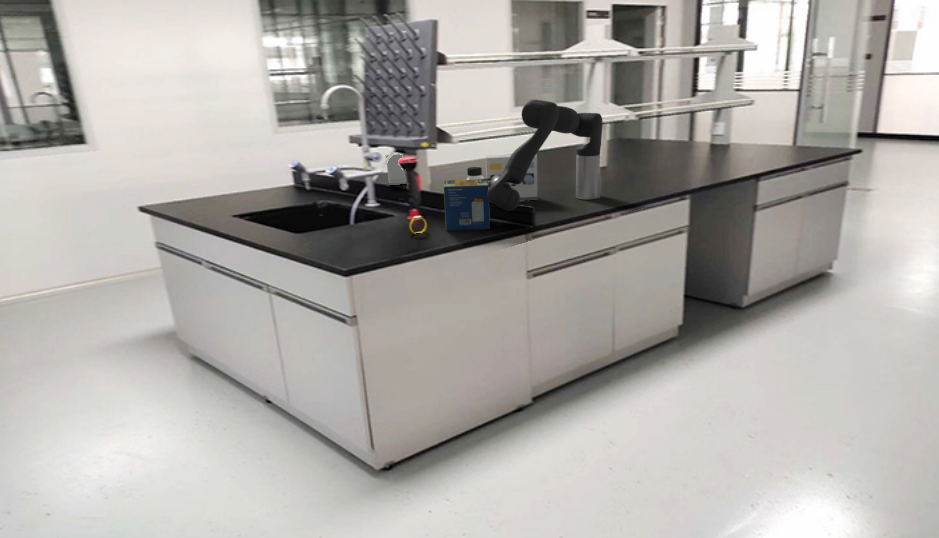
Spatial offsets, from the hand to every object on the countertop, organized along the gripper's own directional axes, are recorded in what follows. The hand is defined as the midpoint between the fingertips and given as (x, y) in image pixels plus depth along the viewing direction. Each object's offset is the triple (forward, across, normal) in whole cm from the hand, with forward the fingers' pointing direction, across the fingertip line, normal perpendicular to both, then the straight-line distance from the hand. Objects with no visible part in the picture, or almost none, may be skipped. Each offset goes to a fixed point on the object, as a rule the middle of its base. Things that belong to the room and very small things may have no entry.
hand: (497, 178), depth 229 cm
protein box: (-19, +11, +14) cm, 26 cm away
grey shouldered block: (+60, +43, +12) cm, 75 cm away
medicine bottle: (+30, +7, +12) cm, 33 cm away
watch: (-25, +28, +14) cm, 40 cm away
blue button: (+14, -13, +5) cm, 20 cm away
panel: (+17, -7, +12) cm, 22 cm away
